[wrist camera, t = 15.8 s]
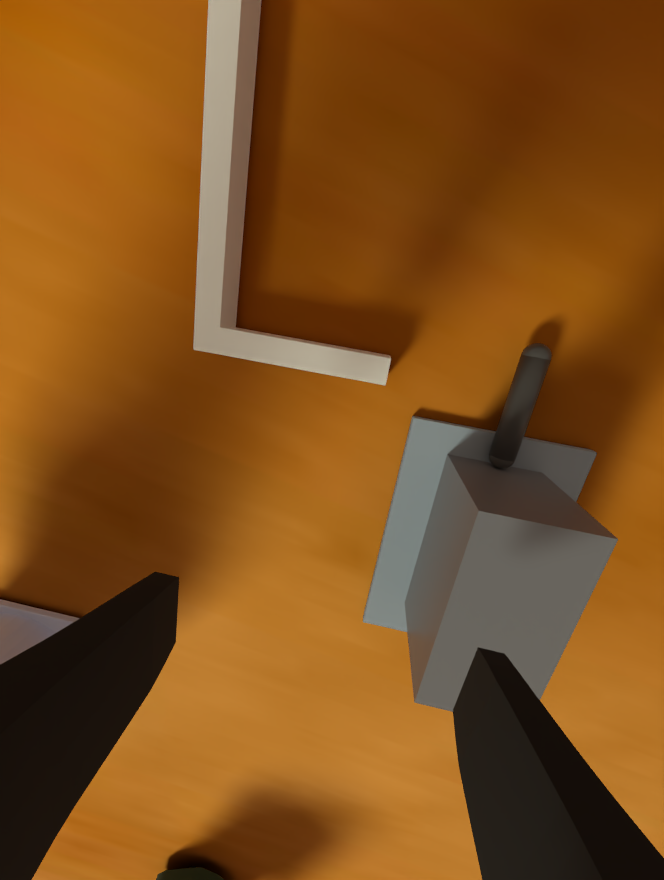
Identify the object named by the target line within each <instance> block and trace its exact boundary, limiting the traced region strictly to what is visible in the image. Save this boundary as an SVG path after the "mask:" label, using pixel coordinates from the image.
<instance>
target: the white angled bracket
mask: <svg viewBox="0 0 664 880" xmlns="http://www.w3.org/2000/svg"><path fill="white" fill-rule="evenodd" d="M260 13H261V0H209V1H208V24H207V47H206V70H205V92H204V115H203V138H202V161H201V184H200V207H199V230H198V253H197V276H196V298H195V321H194V344H193V350H198V351H203V352H209V353H214V354H219V355H225V356H230V357H235V358H241V359H246V360H251V361H257V362H262V363H267V364H273V365H278V366H284V367H289V368H294V369H300V370H305V371H310V372H316V373H321V374H326V375H332V376H337V377H343V378H348V379H353V380H359V381H364V382H369V383H375V384H380V385H385V386H386V381H387V376H388V372H389V367H390V362H391V357H390V355H386V354H380V353H375V352H369V351H363V350H358V349H352V348H347V347H341V346H336V345H330V344H325V343H319V342H314V341H308V340H303V339H297V338H292V337H286V336H281V335H275V334H270V333H264V332H259V331H253V330H248V329H242V328H237V327H236V318H237V305H238V293H239V280H240V267H241V255H242V242H243V229H244V216H245V204H246V191H247V178H248V166H249V153H250V140H251V127H252V115H253V102H254V89H255V77H256V64H257V51H258V39H259V26H260Z"/></svg>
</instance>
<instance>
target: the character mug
mask: <svg viewBox="0 0 664 880" xmlns="http://www.w3.org/2000/svg"><path fill="white" fill-rule="evenodd" d="M156 880H224V879H223V878H222V877H220V876H219V875H218V874H216V873H213V872H211V871H209V870H206V869H204V868H202V867H198V868H196V867H195V866H191V867H190V868H183V869H174V870H166V871H164V872H162V873H160V874H158V876H157V879H156Z"/></svg>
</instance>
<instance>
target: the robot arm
mask: <svg viewBox="0 0 664 880" xmlns="http://www.w3.org/2000/svg"><path fill="white" fill-rule="evenodd" d="M178 588H179V577H175V576H171V575H167V574H162V573H158V572H154V573H152V574H151V575H149V576H147V577H146V578H144V579H143V580H141V581H139V582H138V583H136V584H134V585H133V586H131V587H130V588H128V589H126V590H125V591H123V592H122V593H120V594H118V595H117V596H115V597H114V598H112V599H111V600H109V601H107V602H106V603H104V604H103V605H101V606H99V607H98V608H96V609H94V610H93V611H91V612H90V613H88V614H86V615H85V616H83V617H81V618H77V617H73V616H68V615H64V614H60V613H56V612H52V611H47V610H43V609H39V608H35V607H31V606H27V605H22V604H18V603H14V602H10V601H6V600H2V599H0V880H31V879H32V878H33V876H34V874H35V872H36V871H37V869H38V867H39V865H40V864H41V862H42V860H43V858H44V857H45V855H46V853H47V851H48V849H49V848H50V846H51V844H52V842H53V841H54V839H55V837H56V836H57V834H58V832H59V831H60V829H61V828H62V826H63V824H64V823H65V821H66V819H67V818H68V816H69V815H70V813H71V811H72V810H73V808H74V806H75V805H76V803H77V802H78V800H79V799H80V797H81V796H82V794H83V793H84V791H85V790H86V788H87V787H88V785H89V784H90V782H91V781H92V779H93V777H94V776H95V774H96V773H97V771H98V770H99V768H100V767H101V765H102V764H103V762H104V761H105V759H106V758H107V756H108V755H109V753H110V752H111V750H112V749H113V747H114V745H115V744H116V742H117V741H118V739H119V738H120V736H121V735H122V733H123V732H124V730H125V729H126V727H127V726H128V724H129V723H130V721H131V719H132V718H133V716H134V715H135V713H136V712H137V710H138V709H139V707H140V706H141V704H142V703H143V701H144V699H145V698H146V696H147V695H148V693H149V692H150V690H151V688H152V687H153V685H154V683H155V681H156V679H157V677H158V675H159V674H160V672H161V670H162V668H163V666H164V664H165V662H166V660H167V658H168V656H169V654H170V652H171V650H172V648H173V646H174V644H175V642H176V626H177V607H178ZM453 716H454V726H455V737H456V746H457V754H458V762H459V769H460V774H461V779H462V784H463V789H464V793H465V798H466V803H467V808H468V813H469V818H470V823H471V827H472V832H473V837H474V842H475V846H476V851H477V856H478V861H479V865H480V870H481V875H482V880H664V858H663V857H662V856H661V854H660V853H659V852H658V851H657V850H656V848H655V847H654V846H653V845H652V844H651V842H650V841H649V840H648V839H647V837H646V836H645V835H644V834H643V833H642V831H641V830H640V829H639V828H638V826H637V825H636V824H635V823H634V822H633V820H632V819H631V818H630V817H629V815H628V814H627V813H626V812H625V811H624V809H623V808H622V807H621V806H620V804H619V803H618V802H617V801H616V800H615V798H614V797H613V796H612V794H611V793H610V792H609V791H608V789H607V788H606V787H605V786H604V784H603V783H602V782H601V781H600V779H599V778H598V777H597V776H596V774H595V773H594V772H593V770H592V769H591V768H590V766H589V765H588V764H587V763H586V761H585V760H584V759H583V757H582V756H581V755H580V754H579V752H578V751H577V750H576V748H575V747H574V746H573V744H572V743H571V742H570V740H569V739H568V738H567V736H566V735H565V734H564V732H563V731H562V730H561V728H560V727H559V726H558V724H557V723H556V722H555V720H554V719H553V718H552V716H551V715H550V714H549V712H548V711H547V710H546V708H545V707H544V706H543V704H542V703H541V702H540V700H539V699H538V697H537V696H536V695H535V693H534V692H533V691H532V689H531V688H530V687H529V685H528V684H527V683H526V681H525V680H524V678H523V677H522V676H521V674H520V673H519V672H518V670H517V669H516V668H515V666H514V665H513V664H512V662H511V661H510V660H509V658H508V657H507V656H506V655H505V653H500V652H496V651H492V650H488V649H483V648H479V647H478V648H477V651H476V653H475V656H474V658H473V661H472V663H471V666H470V668H469V671H468V673H467V676H466V678H465V681H464V683H463V686H462V688H461V691H460V693H459V696H458V698H457V701H456V703H455V706H454V708H453Z"/></svg>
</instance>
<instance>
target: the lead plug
mask: <svg viewBox="0 0 664 880" xmlns="http://www.w3.org/2000/svg"><path fill="white" fill-rule="evenodd" d="M551 357H552V354H551V351H550V349H549V348H548V347H547V346H546V345H544V344H541V343H535V344H531V345H529V346H528V347H526V348H525V349H524V350H523V352H522V354H521V357H520V360H519V363H518V366H517V369H516V372H515V375H514V378H513V382H512V385H511V388H510V391H509V394H508V397H507V400H506V403H505V406H504V409H503V412H502V415H501V418H500V421H499V424H498V427H497V431H496V434H495V437H494V440H493V443H492V446H491V449H490V452H489V461H490V462H491V463H490V462H485V461H480V460H475V459H470V458H464V457H459V456H454V455H449V454H447V457H446V460H445V464H444V467H443V471H442V474H441V478H440V481H439V485H438V488H437V492H436V495H435V499H434V502H433V506H432V509H431V513H430V516H429V520H428V523H427V526H426V530H425V533H424V537H423V540H422V544H421V547H420V551H419V554H418V558H417V561H416V565H415V568H414V572H413V575H412V579H411V582H410V586H409V589H408V593H407V596H406V600H405V613H406V623H407V633H408V643H409V653H410V663H411V673H412V683H413V693H414V702H415V703H419V704H423V705H427V706H431V707H436V708H440V709H444V710H448V711H452V712H453V708H454V706H455V703H456V701H457V698H458V696H459V693H460V691H461V688H462V686H463V683H464V681H465V678H466V676H467V673H468V671H469V668H470V666H471V663H472V661H473V658H474V656H475V653H476V651H477V648H478V647H479V648H483V649H488V650H492V651H496V652H500V653H505V655H506V656H507V657H508V658H509V660H510V661H511V662H512V664H513V665H514V666H515V668H516V669H517V670H518V672H519V673H520V674H521V676H522V677H523V678H524V680H525V681H526V683H527V684H528V685H529V687H530V688H531V689H532V691H533V692H534V693H535V695H536V696H537V697H538V699H539V700H540V698H541V696H542V694H543V692H544V690H545V688H546V686H547V684H548V682H549V680H550V678H551V676H552V674H553V672H554V670H555V668H556V666H557V664H558V662H559V659H560V657H561V655H562V653H563V651H564V649H565V647H566V645H567V643H568V641H569V639H570V637H571V635H572V633H573V631H574V629H575V627H576V625H577V623H578V621H579V619H580V616H581V614H582V612H583V610H584V608H585V606H586V604H587V602H588V600H589V598H590V596H591V594H592V592H593V590H594V588H595V586H596V584H597V582H598V580H599V578H600V575H601V573H602V571H603V569H604V567H605V565H606V563H607V561H608V559H609V557H610V555H611V553H612V551H613V549H614V547H615V545H616V543H617V541H618V539H617V538H616V537H615V536H614V535H613V534H612V533H610V532H609V531H608V530H607V529H606V528H605V527H604V526H602V525H601V524H600V523H599V522H598V521H597V520H596V519H594V518H593V517H592V516H591V515H590V514H589V513H588V512H587V511H585V510H584V509H583V508H582V507H581V506H580V505H579V504H577V503H576V502H575V501H574V500H573V499H572V498H571V497H569V496H568V495H567V494H566V493H565V492H564V491H563V490H561V489H560V488H559V487H558V486H557V485H556V484H555V483H554V482H552V481H551V480H550V479H549V478H548V477H547V476H546V475H544V474H543V473H541V472H536V471H531V470H526V469H521V468H515V467H511V466H512V465H513V464H514V462H515V460H516V457H517V454H518V451H519V449H520V446H521V443H522V440H523V437H524V434H525V432H526V429H527V426H528V423H529V420H530V418H531V415H532V412H533V409H534V406H535V403H536V401H537V398H538V395H539V392H540V389H541V386H542V384H543V381H544V378H545V375H546V372H547V369H548V367H549V364H550V361H551Z"/></svg>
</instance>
